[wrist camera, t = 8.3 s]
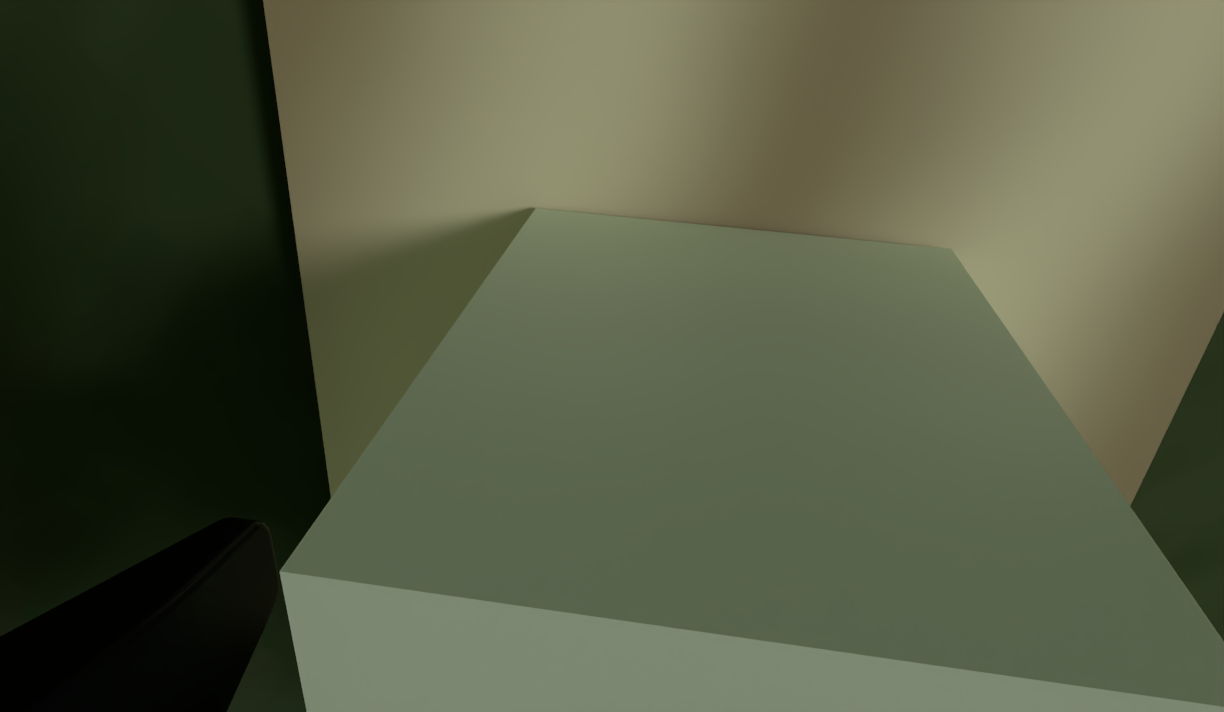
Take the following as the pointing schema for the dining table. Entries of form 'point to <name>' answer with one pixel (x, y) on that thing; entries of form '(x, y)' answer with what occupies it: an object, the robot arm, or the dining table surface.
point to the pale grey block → (735, 501)
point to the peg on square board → (767, 166)
